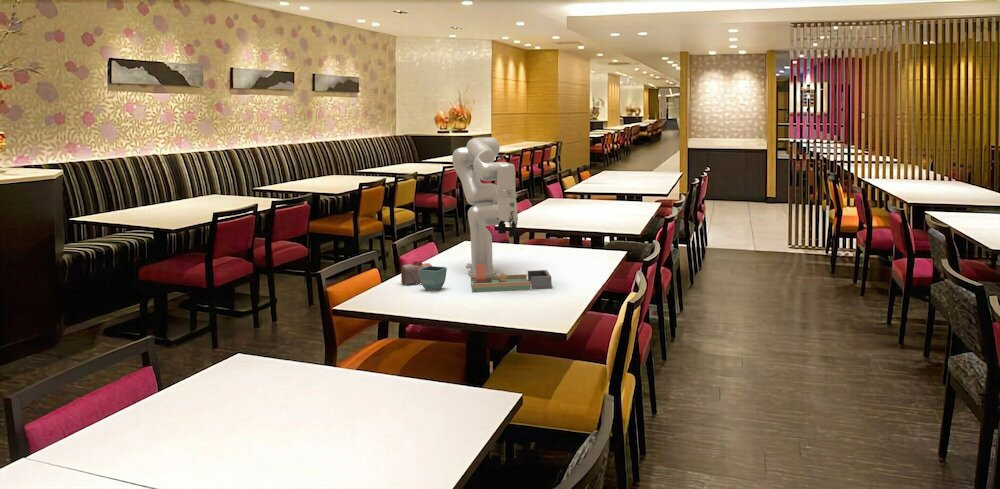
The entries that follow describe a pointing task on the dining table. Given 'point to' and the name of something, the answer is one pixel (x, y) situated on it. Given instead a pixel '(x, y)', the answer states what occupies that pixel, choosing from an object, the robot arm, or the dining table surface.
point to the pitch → (502, 284)
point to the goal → (539, 279)
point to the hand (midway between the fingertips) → (507, 235)
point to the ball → (502, 277)
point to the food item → (412, 272)
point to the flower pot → (433, 277)
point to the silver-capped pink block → (482, 274)
